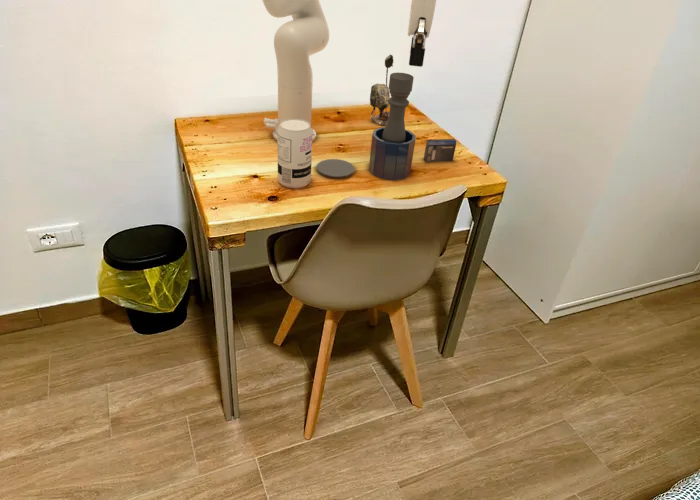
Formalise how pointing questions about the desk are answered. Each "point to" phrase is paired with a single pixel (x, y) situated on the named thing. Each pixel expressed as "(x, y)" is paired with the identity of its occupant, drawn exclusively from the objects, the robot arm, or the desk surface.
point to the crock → (391, 156)
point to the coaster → (335, 169)
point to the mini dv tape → (439, 150)
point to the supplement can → (294, 153)
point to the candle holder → (397, 107)
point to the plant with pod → (381, 97)
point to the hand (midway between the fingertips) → (416, 59)
